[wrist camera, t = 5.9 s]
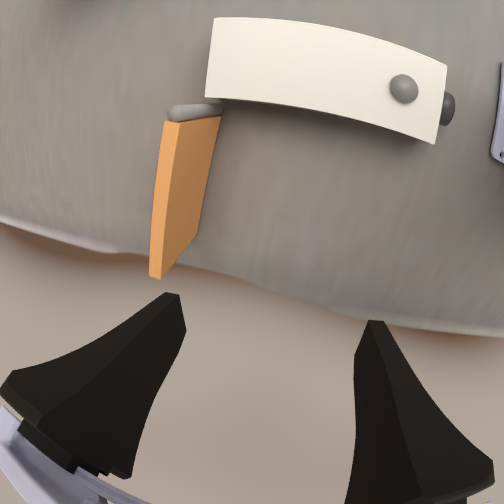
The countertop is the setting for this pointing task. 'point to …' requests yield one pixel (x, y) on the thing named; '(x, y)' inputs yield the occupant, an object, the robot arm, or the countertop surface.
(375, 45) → the cream tapered panel
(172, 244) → the side door
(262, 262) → the countertop surface
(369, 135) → the countertop surface
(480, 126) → the countertop surface
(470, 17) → the countertop surface
